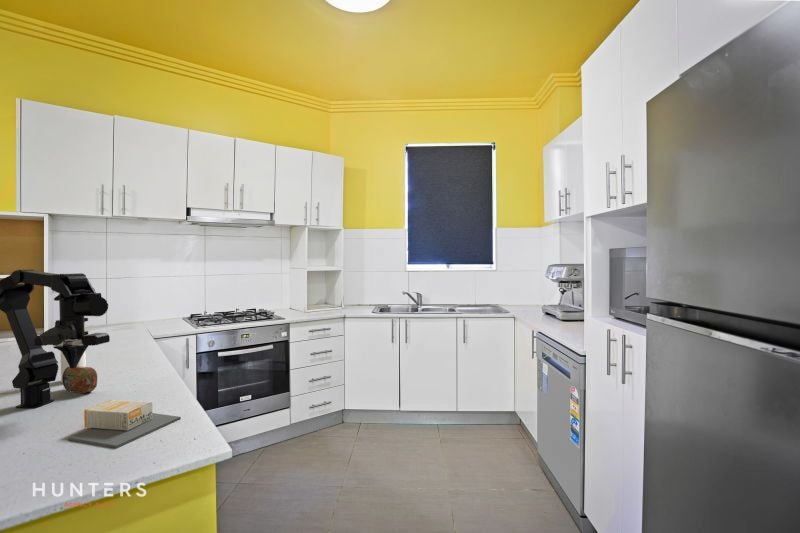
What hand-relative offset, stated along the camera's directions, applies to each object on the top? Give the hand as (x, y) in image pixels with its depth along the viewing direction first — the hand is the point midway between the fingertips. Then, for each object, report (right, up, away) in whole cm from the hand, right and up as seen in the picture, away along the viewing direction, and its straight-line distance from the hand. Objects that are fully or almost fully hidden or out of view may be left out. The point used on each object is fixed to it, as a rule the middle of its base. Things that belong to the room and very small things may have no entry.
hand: (73, 368), depth 119 cm
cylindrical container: (-24, -12, +29) cm, 40 cm away
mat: (+27, -12, -15) cm, 33 cm away
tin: (-11, -12, +17) cm, 24 cm away
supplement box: (+16, -9, -12) cm, 22 cm away
